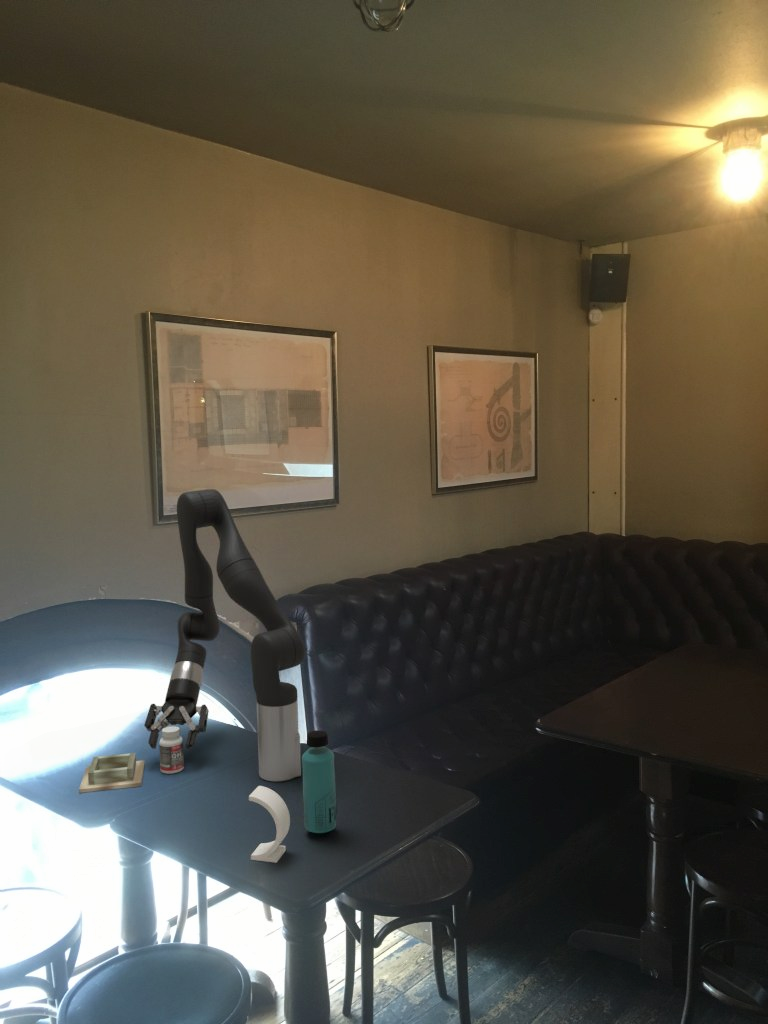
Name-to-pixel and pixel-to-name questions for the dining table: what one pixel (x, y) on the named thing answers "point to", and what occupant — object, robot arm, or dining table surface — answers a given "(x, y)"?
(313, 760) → the beverage bottle
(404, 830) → the dining table surface
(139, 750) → the dining table surface
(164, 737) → the pill bottle
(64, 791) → the dining table surface
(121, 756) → the holder
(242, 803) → the dining table surface
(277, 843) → the headphone stand
